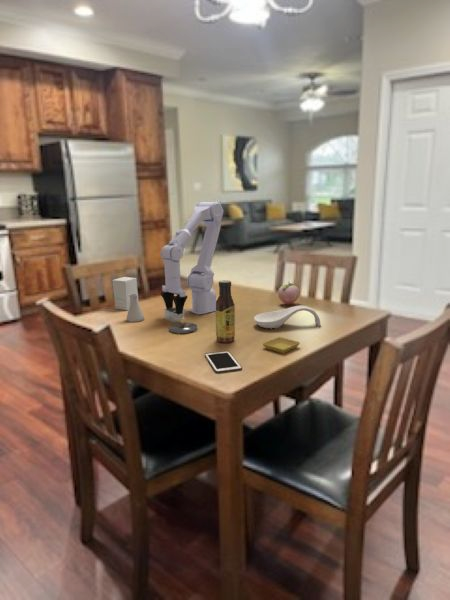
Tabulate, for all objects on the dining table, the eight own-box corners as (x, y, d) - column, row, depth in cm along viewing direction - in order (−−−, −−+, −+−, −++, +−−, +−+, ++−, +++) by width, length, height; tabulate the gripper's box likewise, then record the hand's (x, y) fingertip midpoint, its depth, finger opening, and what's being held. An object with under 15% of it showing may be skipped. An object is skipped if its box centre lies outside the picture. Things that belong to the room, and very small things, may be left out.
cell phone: (215, 375, 124) (215, 371, 124) (204, 356, 138) (203, 353, 138) (243, 371, 126) (243, 368, 126) (228, 353, 140) (228, 350, 140)
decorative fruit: (284, 301, 197) (285, 278, 195) (302, 303, 193) (302, 280, 190) (274, 306, 190) (274, 282, 188) (291, 309, 185) (291, 285, 183)
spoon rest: (255, 332, 158) (255, 312, 157) (252, 322, 170) (252, 304, 168) (323, 329, 159) (323, 310, 157) (315, 320, 171) (315, 301, 169)
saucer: (261, 349, 142) (261, 343, 142) (279, 342, 148) (279, 336, 148) (283, 356, 136) (283, 349, 136) (300, 348, 142) (300, 342, 142)
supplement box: (139, 306, 195) (137, 277, 192) (127, 310, 189) (124, 281, 186) (126, 304, 199) (124, 276, 196) (114, 308, 193) (111, 279, 190)
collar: (177, 316, 179) (177, 306, 178) (185, 319, 175) (184, 309, 174) (165, 319, 176) (164, 309, 175) (172, 322, 171) (171, 312, 170)
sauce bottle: (228, 344, 146) (227, 284, 141) (212, 341, 149) (210, 282, 145) (239, 338, 152) (237, 280, 147) (223, 335, 155) (221, 278, 150)
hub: (188, 323, 170) (187, 312, 168) (202, 330, 162) (202, 317, 160) (164, 329, 164) (163, 317, 163) (178, 335, 156) (177, 323, 155)
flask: (140, 322, 172) (138, 297, 170) (122, 322, 174) (120, 296, 171) (147, 317, 179) (145, 292, 177) (130, 316, 181) (128, 292, 178)
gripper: (154, 275, 175) (156, 309, 178) (172, 281, 163) (174, 317, 166) (170, 273, 179) (172, 306, 182) (189, 278, 167) (191, 314, 170)
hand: (174, 311), depth 174 cm, fingers open, 7 cm apart
